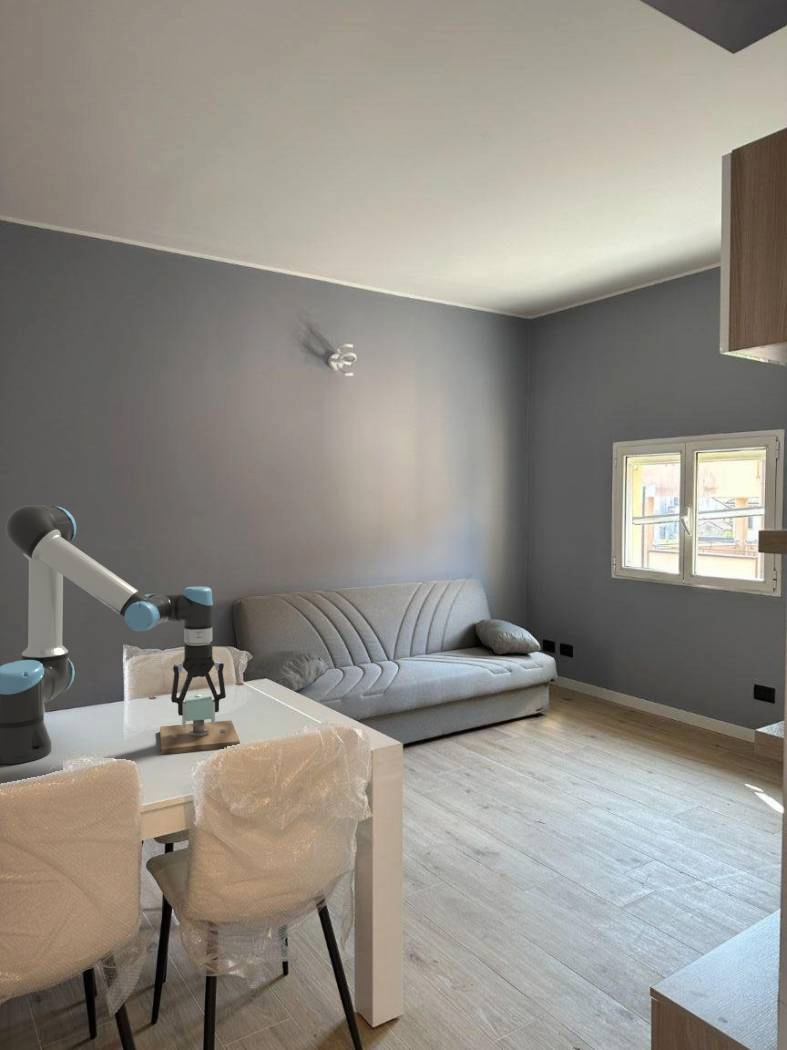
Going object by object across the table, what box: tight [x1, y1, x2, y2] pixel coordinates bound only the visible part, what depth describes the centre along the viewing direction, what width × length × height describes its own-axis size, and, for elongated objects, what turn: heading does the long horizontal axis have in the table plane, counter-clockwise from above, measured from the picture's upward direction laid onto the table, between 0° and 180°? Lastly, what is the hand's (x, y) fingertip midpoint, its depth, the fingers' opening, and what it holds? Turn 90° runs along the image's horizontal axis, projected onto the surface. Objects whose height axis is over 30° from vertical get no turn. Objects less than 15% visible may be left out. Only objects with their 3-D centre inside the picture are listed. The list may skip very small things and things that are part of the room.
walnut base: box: [159, 719, 241, 755], centre depth 201 cm, size 20×20×6 cm
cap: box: [184, 693, 213, 722], centre depth 202 cm, size 8×7×5 cm
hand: (198, 725), depth 201 cm, fingers closed on cap, 7 cm apart
